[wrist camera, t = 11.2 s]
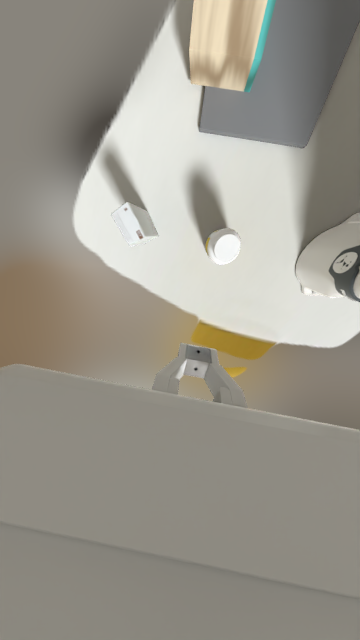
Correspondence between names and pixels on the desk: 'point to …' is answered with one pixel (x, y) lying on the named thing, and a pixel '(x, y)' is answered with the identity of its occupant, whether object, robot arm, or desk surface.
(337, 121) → the desk surface
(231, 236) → the supplement bottle
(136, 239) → the skincare box
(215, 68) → the birch block
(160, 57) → the desk surface
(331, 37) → the rubber mat
